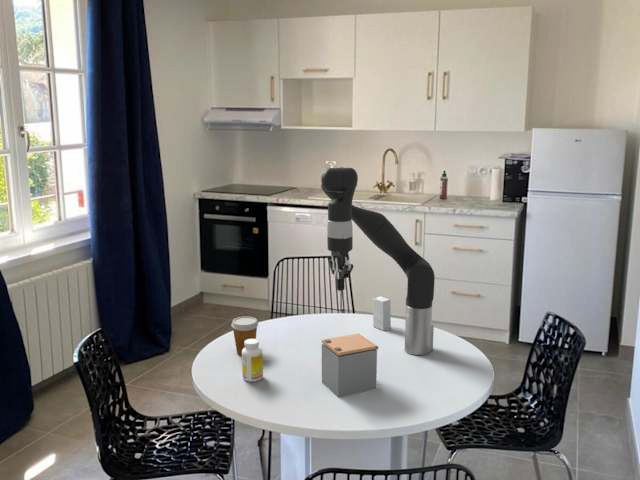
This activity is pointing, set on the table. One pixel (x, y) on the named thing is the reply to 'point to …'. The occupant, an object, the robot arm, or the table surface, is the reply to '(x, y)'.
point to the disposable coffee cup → (244, 331)
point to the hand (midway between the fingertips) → (340, 289)
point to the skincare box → (382, 313)
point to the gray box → (349, 371)
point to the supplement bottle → (252, 361)
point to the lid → (349, 344)
